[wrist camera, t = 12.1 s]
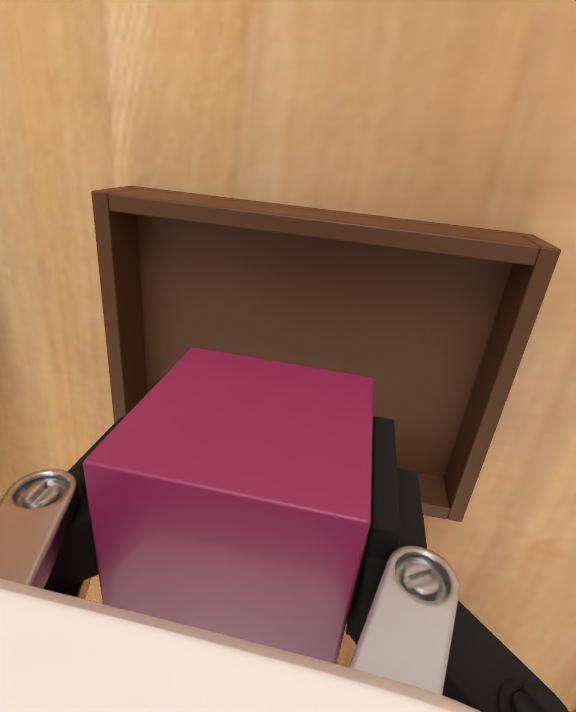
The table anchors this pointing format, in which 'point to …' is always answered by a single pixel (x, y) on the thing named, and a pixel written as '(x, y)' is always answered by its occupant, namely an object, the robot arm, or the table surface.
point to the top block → (238, 500)
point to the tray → (328, 311)
